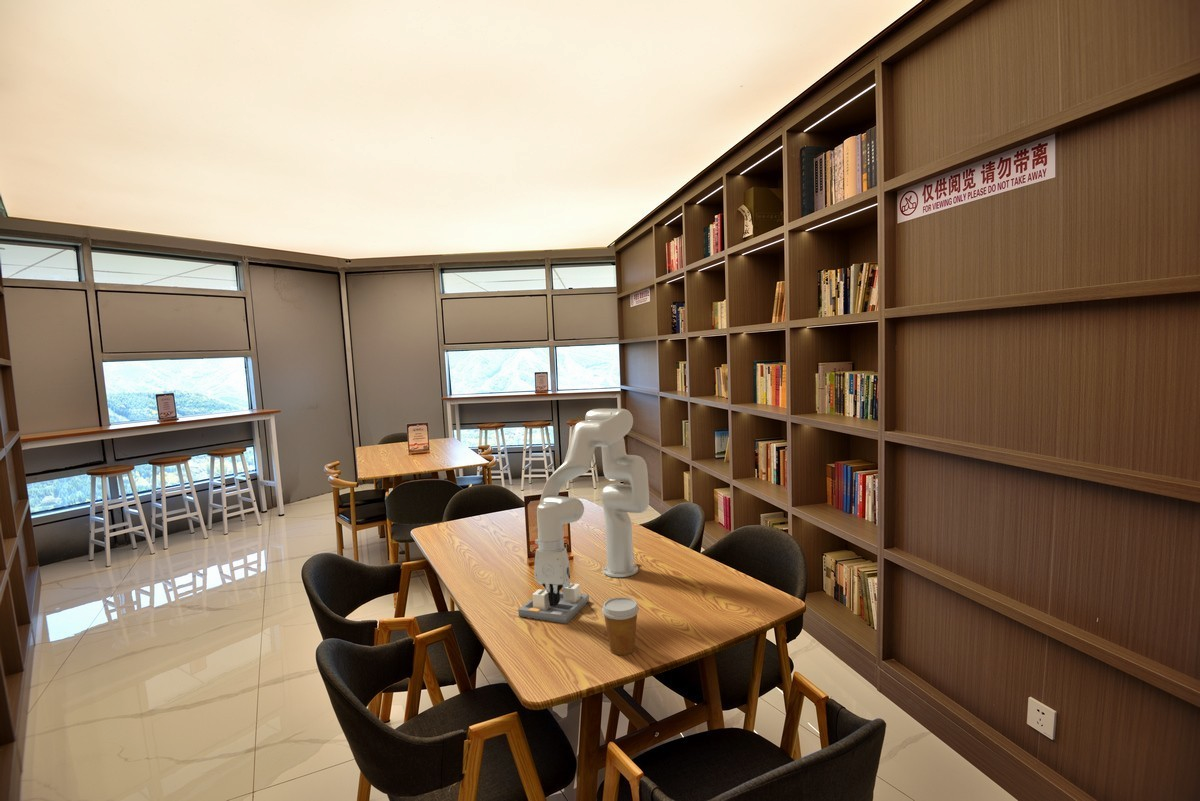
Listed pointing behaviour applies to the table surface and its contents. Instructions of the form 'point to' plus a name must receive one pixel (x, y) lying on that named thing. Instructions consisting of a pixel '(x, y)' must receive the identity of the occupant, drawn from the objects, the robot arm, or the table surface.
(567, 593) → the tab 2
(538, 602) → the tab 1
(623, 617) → the disposable coffee cup
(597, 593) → the table surface
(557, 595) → the robot arm
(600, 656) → the table surface
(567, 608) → the switch bank
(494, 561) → the table surface
